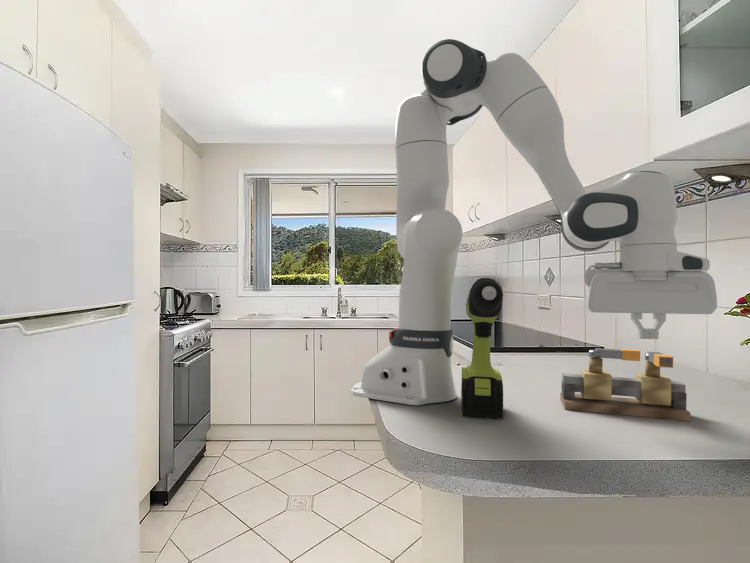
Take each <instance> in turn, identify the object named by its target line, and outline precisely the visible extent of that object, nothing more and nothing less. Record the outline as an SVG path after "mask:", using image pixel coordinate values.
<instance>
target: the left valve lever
mask: <svg viewBox="0 0 750 563" xmlns="http://www.w3.org/2000/svg"><path fill="white" fill-rule="evenodd" d="M588 357H589V358H590V357H594V358H602V359H615V360H622V361H630V362H641V350H639V349H633V348H632V349H629V348H627V349H626V348H620V349H615V348H599V347H595V348H594V349H589V350H588Z"/></svg>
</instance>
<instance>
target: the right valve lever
mask: <svg viewBox="0 0 750 563" xmlns="http://www.w3.org/2000/svg"><path fill="white" fill-rule="evenodd" d="M644 360H645V361H650V362H652V363H654V365H656V366H658V367H660V368H667V369H669V368H670V369H674V356H671V355H669V354H664V353H661V352H660V351H659V352H658V351H647V352H645V353H644Z"/></svg>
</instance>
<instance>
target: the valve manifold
mask: <svg viewBox="0 0 750 563" xmlns="http://www.w3.org/2000/svg"><path fill="white" fill-rule="evenodd" d="M603 360H604V358H594V357H589V358H588V369H580V374H576V373H575V374H574V373H563V372H562V373H561V392H560V394H559V395H560V397H559V398H560V402H561V404H562V406H563V409H564V410H566V411H567V410H568V411H580V412H588V413H589V412H590V413H598V412H599V414H600V413H601V414H611V415H612V414H613V415H621V416H633V417H642V418H643V417H644V418H653V419H654V418H656V419H666V420H676V421H686V422H687V421H688V422H691V411H689V410H687V392H686V391H687V390H686V389H687V388H686V387H687V386H686V384H685V383H683V382H682V381H675V380H672V379H671V378H669V377H667V376H665V375H664V374H661V367H658V366H656V365H654V363H652V362H650V361H648V360H645V372H644V373H637V372H636V373H634V374H635V375H634V378H632V377H618V376H612V374H611V373H609V372H608V371H607V370H603V364H604V363H603ZM632 397H634V398H632Z"/></svg>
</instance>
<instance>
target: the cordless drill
mask: <svg viewBox="0 0 750 563" xmlns="http://www.w3.org/2000/svg"><path fill="white" fill-rule="evenodd" d="M503 292H504V291H503V289H502V288H501V286H500V284H499V283H498V282H497V281H496V280H495V279H492V278H490V277H481V278H478V279H477V280H475V281H474V283H472V286H471V288H470V289H469V291H468V295H467V298H466V301H465V302H466V303H465V312H466V315H467V317H468V318H469V319H470V320H471V321H472V325H473V333H472V334H473V337H472V352H471V355H472V356H471V363H470V365H467V367H465V366H462V367H461V388H460V389H461V392H460V395H461V396H460V404H461V415H462V418H463V417H465V418H469V419H483V420H484V419H485V420H504V384H503V377H502V374H501V372H500V370H499V369H498V368H494V367H493V366H492V363H491V337H492V326H493V324H494V322H495V321H496V319H497V318H498V317H499V316H500V315H501V311H502V307H503V298H504V293H503Z"/></svg>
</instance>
